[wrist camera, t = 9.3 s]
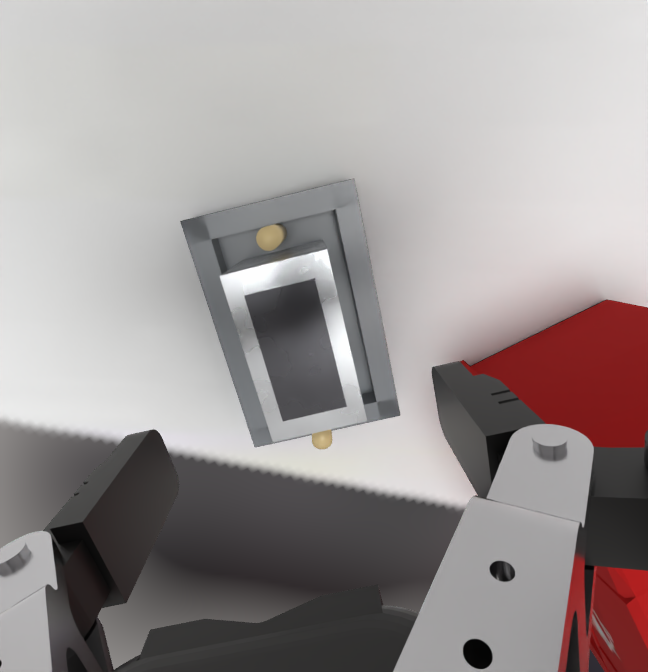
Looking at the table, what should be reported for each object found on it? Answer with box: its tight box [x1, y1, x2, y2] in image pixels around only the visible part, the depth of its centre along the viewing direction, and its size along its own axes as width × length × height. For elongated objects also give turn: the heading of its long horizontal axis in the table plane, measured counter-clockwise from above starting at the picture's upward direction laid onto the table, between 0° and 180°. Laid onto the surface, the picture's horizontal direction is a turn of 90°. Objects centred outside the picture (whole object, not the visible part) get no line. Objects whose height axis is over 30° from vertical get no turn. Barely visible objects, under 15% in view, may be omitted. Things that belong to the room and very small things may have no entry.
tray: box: [180, 179, 400, 449], centre depth 21 cm, size 9×13×6 cm, turn 13°
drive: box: [220, 240, 367, 443], centre depth 20 cm, size 4×8×6 cm, turn 14°
